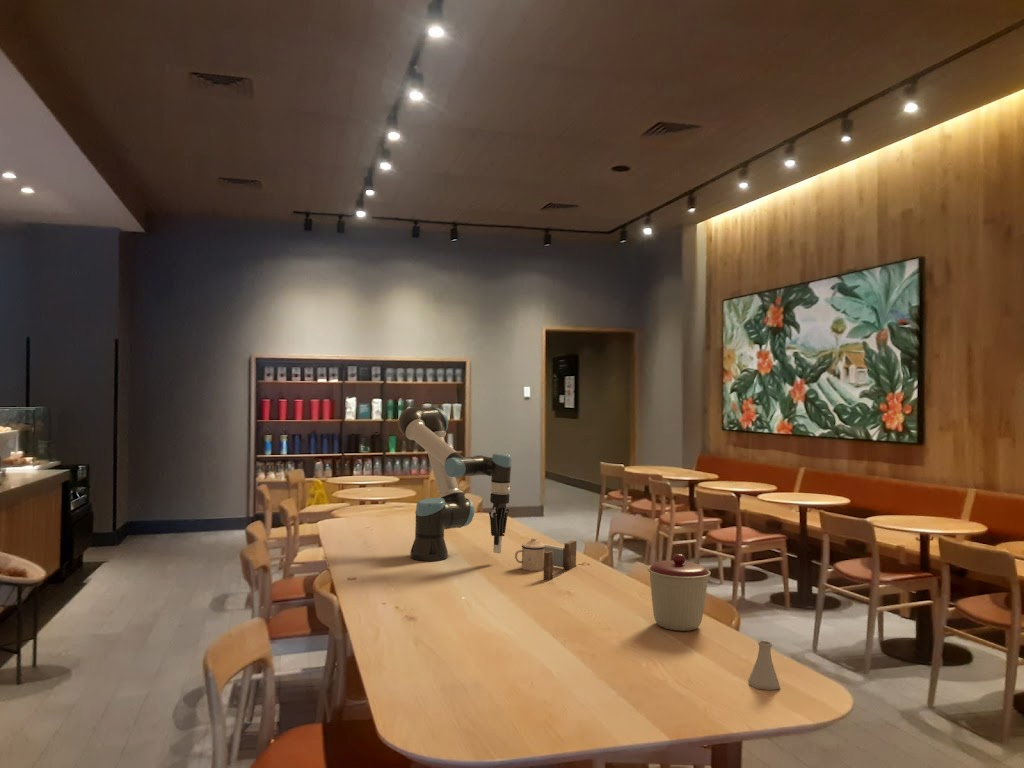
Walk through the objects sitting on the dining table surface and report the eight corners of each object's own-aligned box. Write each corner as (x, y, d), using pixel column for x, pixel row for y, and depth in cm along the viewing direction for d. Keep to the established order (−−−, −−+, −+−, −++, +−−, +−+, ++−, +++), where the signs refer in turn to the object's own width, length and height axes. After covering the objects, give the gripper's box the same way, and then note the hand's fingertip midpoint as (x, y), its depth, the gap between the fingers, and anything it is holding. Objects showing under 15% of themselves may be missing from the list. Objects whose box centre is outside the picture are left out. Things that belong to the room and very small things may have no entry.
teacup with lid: (539, 565, 299) (540, 535, 299) (548, 570, 291) (549, 540, 291) (510, 566, 295) (511, 536, 296) (518, 572, 287) (519, 541, 287)
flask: (743, 679, 182) (744, 637, 182) (772, 679, 182) (773, 637, 182) (755, 691, 175) (755, 647, 175) (785, 691, 175) (786, 647, 175)
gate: (564, 567, 295) (565, 547, 295) (562, 567, 294) (563, 548, 294) (536, 561, 304) (536, 542, 304) (534, 561, 303) (534, 542, 303)
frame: (542, 580, 275) (543, 552, 276) (570, 565, 300) (571, 540, 300) (549, 580, 274) (549, 553, 274) (576, 566, 299) (577, 541, 299)
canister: (673, 639, 211) (675, 562, 212) (633, 621, 227) (635, 550, 228) (722, 631, 220) (724, 557, 220) (681, 614, 236) (683, 546, 236)
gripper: (500, 495, 293) (497, 557, 293) (515, 492, 305) (513, 551, 305) (483, 493, 296) (480, 554, 297) (499, 490, 308) (496, 548, 308)
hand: (497, 552), depth 301 cm, fingers closed
